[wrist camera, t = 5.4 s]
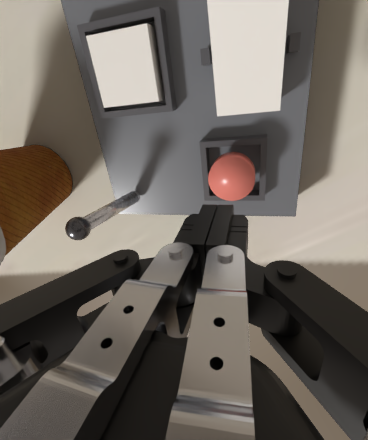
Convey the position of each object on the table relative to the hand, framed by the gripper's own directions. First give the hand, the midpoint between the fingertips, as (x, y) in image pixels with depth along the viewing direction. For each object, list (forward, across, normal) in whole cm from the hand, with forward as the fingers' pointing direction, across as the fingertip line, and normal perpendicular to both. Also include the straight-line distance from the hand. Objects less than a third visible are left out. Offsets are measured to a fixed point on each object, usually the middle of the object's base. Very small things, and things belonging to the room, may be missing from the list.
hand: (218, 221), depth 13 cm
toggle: (+7, +8, +2) cm, 11 cm away
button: (+6, 0, 0) cm, 6 cm away
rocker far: (+6, -1, -8) cm, 10 cm away
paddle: (+7, +6, -7) cm, 12 cm away
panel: (+10, +3, -4) cm, 12 cm away
